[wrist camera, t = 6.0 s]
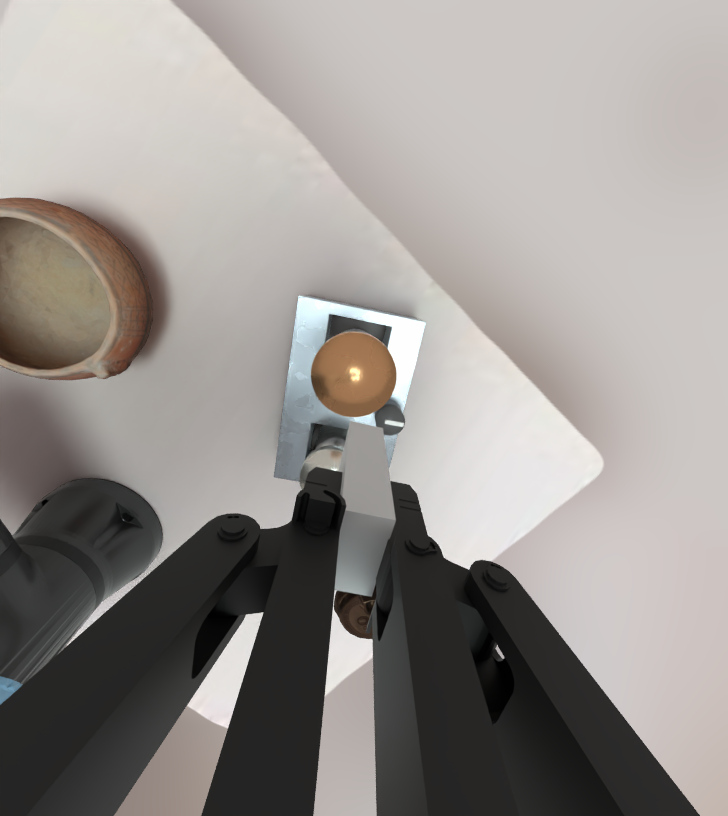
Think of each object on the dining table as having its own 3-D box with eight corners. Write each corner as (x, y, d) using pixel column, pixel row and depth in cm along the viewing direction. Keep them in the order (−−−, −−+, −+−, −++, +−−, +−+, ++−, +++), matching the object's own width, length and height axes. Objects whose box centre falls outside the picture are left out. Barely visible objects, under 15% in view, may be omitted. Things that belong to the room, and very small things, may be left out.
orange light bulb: (320, 375, 34) (304, 408, 24) (330, 315, 32) (318, 324, 22) (378, 386, 34) (386, 423, 25) (391, 327, 32) (405, 342, 23)
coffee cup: (359, 494, 45) (360, 570, 33) (414, 519, 47) (434, 601, 34) (329, 543, 48) (319, 631, 35) (382, 565, 49) (390, 658, 37)
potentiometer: (371, 423, 36) (372, 433, 33) (377, 397, 35) (379, 406, 32) (398, 428, 36) (401, 438, 33) (404, 402, 35) (408, 411, 32)
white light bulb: (309, 453, 42) (295, 501, 32) (317, 408, 40) (304, 445, 30) (356, 461, 42) (356, 511, 33) (366, 417, 41) (369, 457, 31)
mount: (284, 452, 43) (273, 477, 37) (307, 295, 37) (298, 295, 32) (379, 469, 44) (382, 495, 38) (415, 318, 38) (425, 322, 33)
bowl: (160, 385, 40) (99, 414, 31) (15, 342, 38) (-97, 358, 29) (183, 245, 36) (119, 228, 26) (20, 188, 34) (-112, 147, 24)
